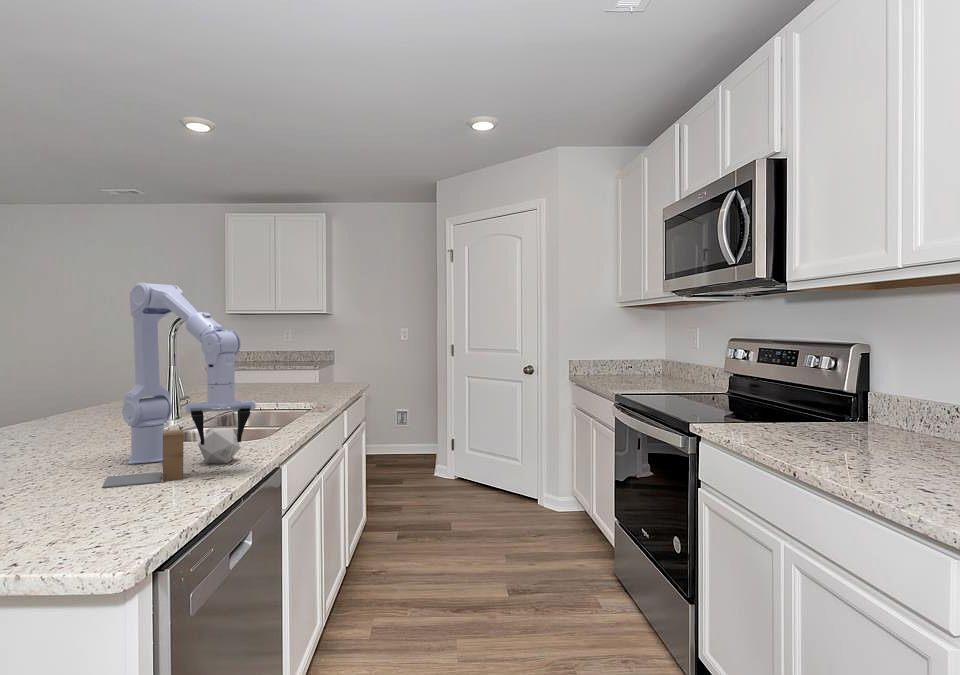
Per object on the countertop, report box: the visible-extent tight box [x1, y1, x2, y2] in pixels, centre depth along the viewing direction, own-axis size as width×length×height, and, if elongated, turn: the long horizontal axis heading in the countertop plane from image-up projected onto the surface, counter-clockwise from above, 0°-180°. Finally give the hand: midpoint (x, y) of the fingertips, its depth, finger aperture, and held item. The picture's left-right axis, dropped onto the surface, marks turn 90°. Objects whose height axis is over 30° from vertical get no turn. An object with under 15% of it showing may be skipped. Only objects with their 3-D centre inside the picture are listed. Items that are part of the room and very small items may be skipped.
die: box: [197, 428, 241, 464], centre depth 146 cm, size 8×9×10 cm
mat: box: [101, 471, 163, 489], centre depth 128 cm, size 9×11×1 cm
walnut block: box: [162, 429, 184, 482], centre depth 131 cm, size 6×4×10 cm, turn 26°
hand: (221, 442), depth 136 cm, fingers open, 7 cm apart
